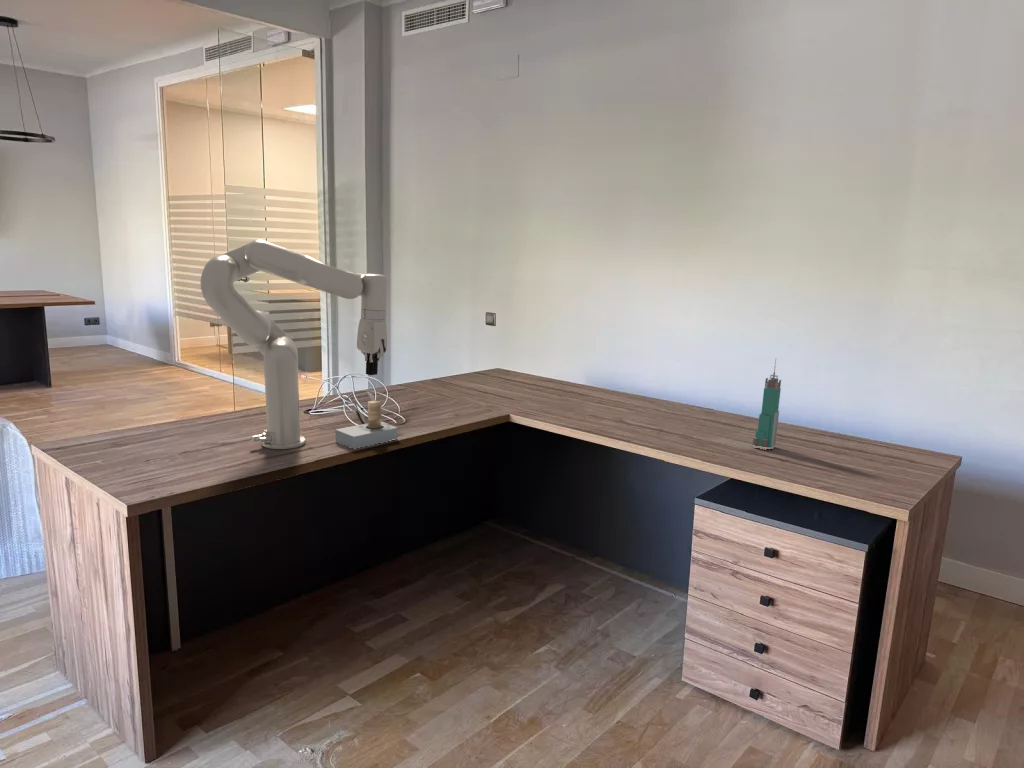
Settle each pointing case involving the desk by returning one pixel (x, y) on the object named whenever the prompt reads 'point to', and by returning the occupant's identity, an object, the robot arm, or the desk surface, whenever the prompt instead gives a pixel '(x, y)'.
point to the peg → (374, 415)
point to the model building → (360, 412)
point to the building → (769, 414)
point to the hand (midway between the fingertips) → (371, 374)
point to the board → (365, 435)
